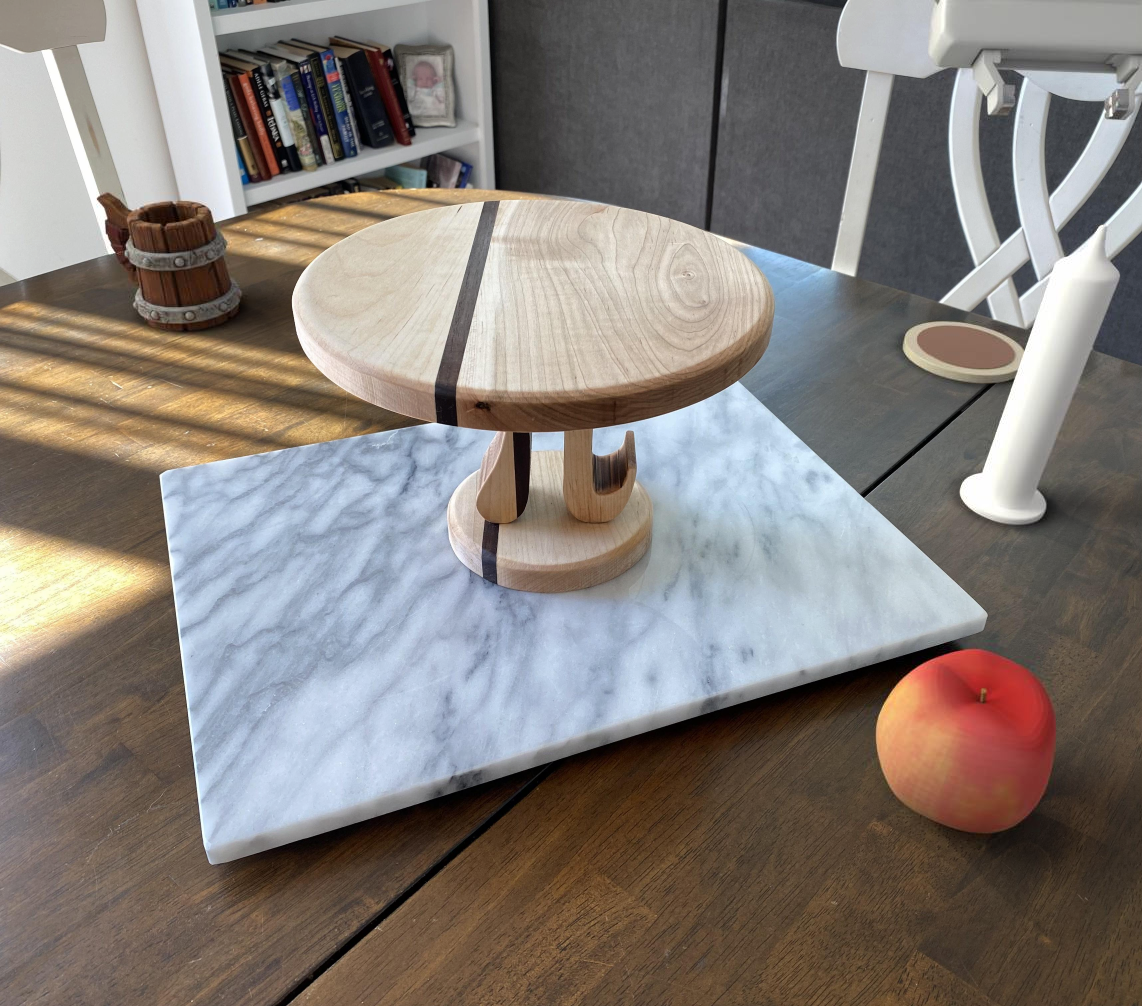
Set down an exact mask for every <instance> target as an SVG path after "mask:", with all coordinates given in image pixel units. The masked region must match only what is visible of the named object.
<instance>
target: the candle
mask: <svg viewBox="0 0 1142 1006" xmlns="http://www.w3.org/2000/svg"><path fill="white" fill-rule="evenodd" d="M1107 232H1108V228H1107V225H1105V224H1101V225H1099V226H1098V228H1097V229H1096V231H1095V232H1094V234H1093V235H1092V237H1091V239H1090V240H1089V242H1088V243H1087V245H1085V246H1084V247H1083V248H1082V249H1081V250H1080V251H1077V252H1076V253H1072V254H1070V255H1068V256H1065V257H1062V258H1059V260H1057V261H1056V262H1055V263H1054V265H1053V269H1052V271H1051V273H1050V277H1049V280H1048V282H1047V285H1046V289H1045V291H1044V294H1043V297H1042V300H1041V303H1040V306H1039V308H1038V312H1037V314H1036V317H1035V320H1034V322H1033V326H1032V329H1031V331H1030V334H1029V337H1028V340H1027V343H1026V345H1025V348H1024V354H1023V357H1022V360H1021V363H1020V366H1019V369H1018V372H1017V374H1016V377H1015V378H1014V379H1013V383H1012V386H1011V389H1010V392H1009V395H1008V397H1007V401H1006V403H1005V406H1004V409H1003V412H1002V414H1001V417H1000V420H999V424H998V426H997V429H996V431H995V436H994V438H993V441H992V443H991V446H990V449H989V452H988V454H987V457H986V461H985V464H984V467H983V469H982V472H978V473H975V474H972V475H970V476H967V477H966V478H965V479H964V480H963V481H962V482H961V486H960V489H959V496H960V498H961V500H962V502H963V503H964V504H965V505H966V506H967V507H968V508H969V509H970V510H971V511H973V512H974V513H975V514H977V515H979V516H981V517H984V518H985V519H988V520H991V521H994V522H996V523H997V522H998V523H1000V524H1006V525H1013V526H1015V525H1017V526H1018V525H1019V526H1021V525H1029V524H1033V523H1035V522H1038V521H1039V520H1040V519H1042V518H1043V516H1044V515H1045V512H1046V510H1047V502H1046V499H1045V497H1044V495H1043V494H1042V493H1041V492H1040V491H1039V490H1038V486H1039V483H1040V481H1041V479H1042V476H1043V473H1044V471H1045V468H1046V465H1047V463H1048V460H1049V458H1050V456H1051V453H1052V450H1053V448H1054V446H1055V443H1056V440H1057V438H1058V435H1059V433H1060V430H1061V428H1062V425H1063V422H1064V420H1065V417H1066V415H1067V413H1068V411H1069V407H1070V405H1071V403H1072V400H1073V397H1074V395H1075V392H1076V390H1077V387H1078V385H1079V382H1080V380H1081V377H1082V375H1083V372H1084V369H1085V367H1086V364H1087V363H1088V359H1089V357H1090V354H1091V351H1092V349H1093V348H1094V347H1093V346H1094V345H1095V344H1094V343H1095V341H1096V339H1097V337H1098V334H1099V331H1100V329H1101V327H1102V324H1103V322H1104V319H1105V316H1106V314H1107V312H1108V309H1109V307H1110V304H1111V301H1112V299H1113V296H1114V294H1115V291H1116V289H1117V286H1118V283H1119V281H1120V278H1121V274H1120V271H1119V269H1118V268H1117V267H1116V266H1115V265H1114V264H1113V262H1111V260H1110V259H1109V257H1108V256H1107V254H1106V241H1107V239H1106V238H1107Z"/></svg>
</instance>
